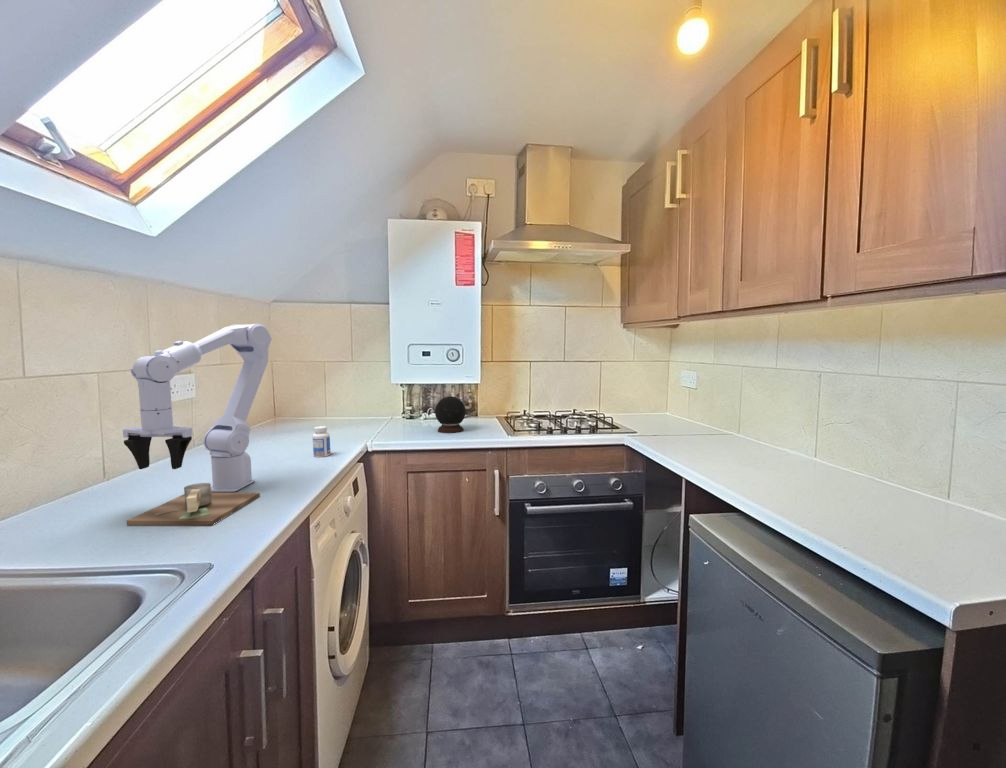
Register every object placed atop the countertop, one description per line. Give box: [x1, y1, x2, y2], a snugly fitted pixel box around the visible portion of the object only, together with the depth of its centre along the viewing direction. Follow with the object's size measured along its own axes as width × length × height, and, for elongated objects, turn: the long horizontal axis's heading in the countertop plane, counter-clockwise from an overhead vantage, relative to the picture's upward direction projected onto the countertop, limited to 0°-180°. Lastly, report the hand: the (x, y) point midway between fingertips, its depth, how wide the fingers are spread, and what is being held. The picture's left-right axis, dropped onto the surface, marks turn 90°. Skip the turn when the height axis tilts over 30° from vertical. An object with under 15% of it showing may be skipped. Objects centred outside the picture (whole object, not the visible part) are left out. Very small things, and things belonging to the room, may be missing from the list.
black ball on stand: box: [434, 396, 467, 434], centre depth 197 cm, size 13×13×15 cm
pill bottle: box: [312, 425, 331, 458], centre depth 154 cm, size 6×5×10 cm
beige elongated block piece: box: [183, 482, 212, 513], centre depth 100 cm, size 12×5×4 cm, turn 27°
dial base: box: [126, 492, 261, 526], centre depth 104 cm, size 18×18×1 cm
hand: (160, 468), depth 104 cm, fingers open, 7 cm apart
